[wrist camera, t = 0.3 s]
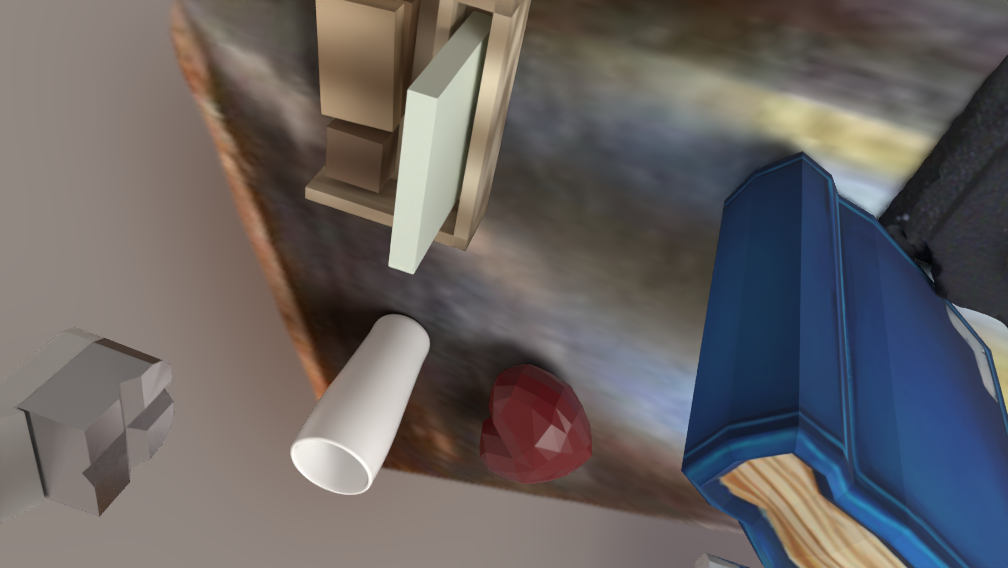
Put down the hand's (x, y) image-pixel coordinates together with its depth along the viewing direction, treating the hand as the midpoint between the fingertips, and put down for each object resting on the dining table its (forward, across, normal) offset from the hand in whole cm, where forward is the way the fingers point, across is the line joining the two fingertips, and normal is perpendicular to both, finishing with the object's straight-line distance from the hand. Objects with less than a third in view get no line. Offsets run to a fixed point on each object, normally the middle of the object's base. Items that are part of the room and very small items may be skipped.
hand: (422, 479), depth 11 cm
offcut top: (+37, +16, +10) cm, 42 cm away
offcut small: (+40, +16, +17) cm, 46 cm away
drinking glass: (+43, +12, +36) cm, 58 cm away
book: (+41, -18, +15) cm, 48 cm away
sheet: (+39, +9, +11) cm, 42 cm away
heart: (+44, -2, +38) cm, 58 cm away
